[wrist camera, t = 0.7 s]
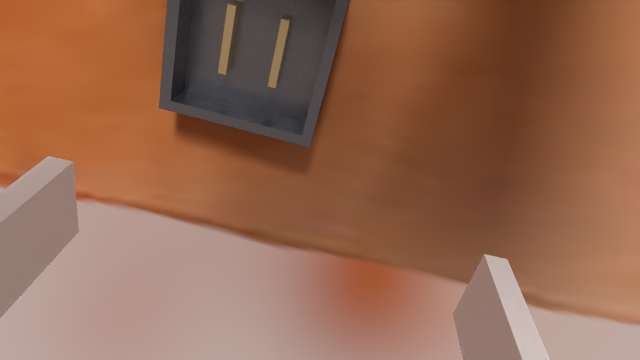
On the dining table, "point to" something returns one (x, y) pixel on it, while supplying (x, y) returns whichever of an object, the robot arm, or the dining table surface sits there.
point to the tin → (251, 63)
